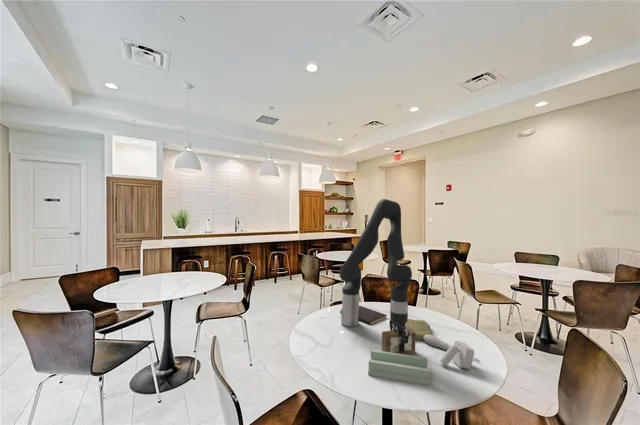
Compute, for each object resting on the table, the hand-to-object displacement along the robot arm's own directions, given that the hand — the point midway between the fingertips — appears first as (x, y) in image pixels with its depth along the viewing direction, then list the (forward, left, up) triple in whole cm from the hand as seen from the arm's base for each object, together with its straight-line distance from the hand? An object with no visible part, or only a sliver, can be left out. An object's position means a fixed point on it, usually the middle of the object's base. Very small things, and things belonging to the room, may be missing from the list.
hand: (398, 348), depth 122 cm
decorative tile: (+7, +24, -3) cm, 25 cm away
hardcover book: (-21, +38, -3) cm, 44 cm away
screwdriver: (+22, +8, -2) cm, 24 cm away
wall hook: (+22, -4, -2) cm, 22 cm away
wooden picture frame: (0, 0, -2) cm, 2 cm away
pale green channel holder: (0, -15, -2) cm, 15 cm away
